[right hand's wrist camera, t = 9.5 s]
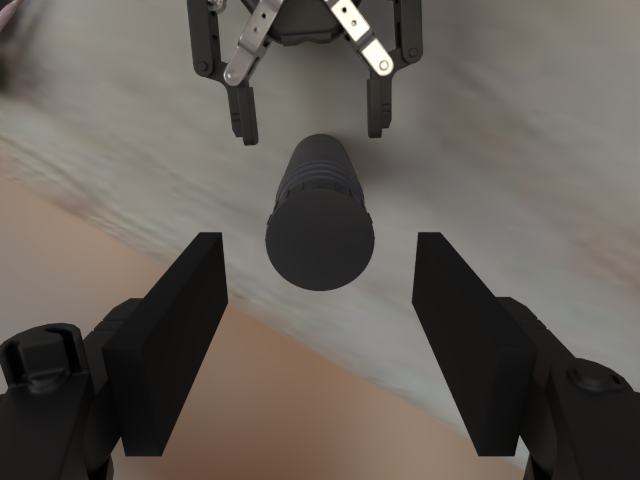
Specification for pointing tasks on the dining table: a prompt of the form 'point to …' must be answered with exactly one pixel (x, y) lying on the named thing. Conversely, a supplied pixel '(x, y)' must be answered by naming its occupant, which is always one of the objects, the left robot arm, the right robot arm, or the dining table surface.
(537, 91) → the dining table surface
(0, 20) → the figurine
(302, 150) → the bottle
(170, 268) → the right robot arm
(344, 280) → the cap
